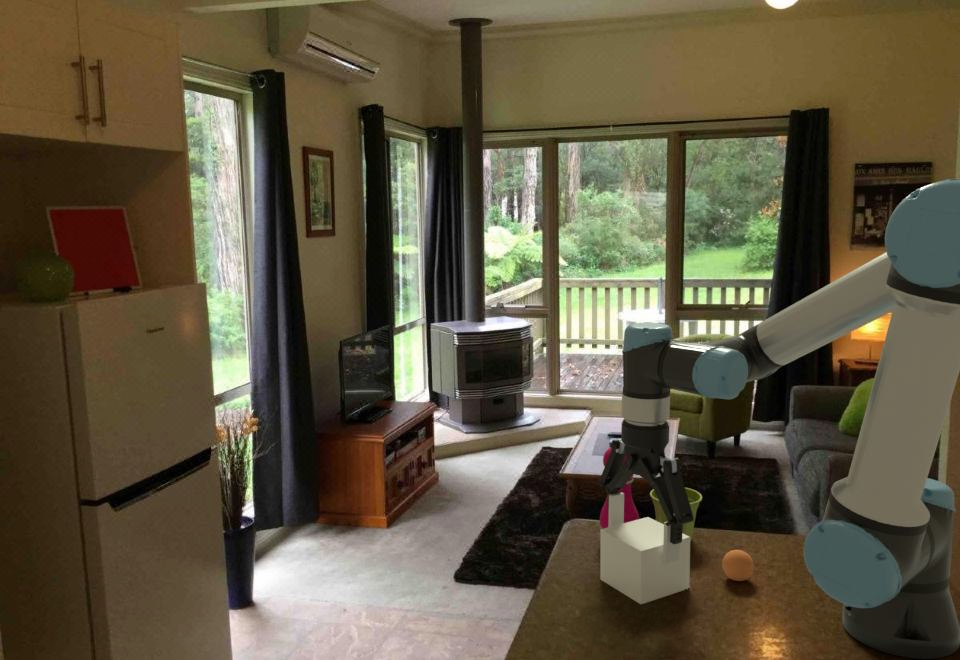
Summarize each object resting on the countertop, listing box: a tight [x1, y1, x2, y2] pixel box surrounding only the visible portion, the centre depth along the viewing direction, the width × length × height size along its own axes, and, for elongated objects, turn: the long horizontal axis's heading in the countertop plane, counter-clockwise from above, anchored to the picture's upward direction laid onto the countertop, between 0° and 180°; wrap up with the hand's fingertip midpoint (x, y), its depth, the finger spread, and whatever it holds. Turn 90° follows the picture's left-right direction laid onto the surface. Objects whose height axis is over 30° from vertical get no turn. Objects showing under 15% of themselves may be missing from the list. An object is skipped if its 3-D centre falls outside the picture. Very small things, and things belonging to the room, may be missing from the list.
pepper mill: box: [599, 437, 640, 529], centre depth 149 cm, size 7×7×20 cm
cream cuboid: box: [599, 516, 691, 605], centre depth 134 cm, size 10×10×9 cm
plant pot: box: [649, 487, 703, 543], centre depth 151 cm, size 9×9×9 cm
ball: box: [721, 549, 755, 582], centre depth 135 cm, size 5×5×5 cm
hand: (642, 545), depth 134 cm, fingers open, 13 cm apart
